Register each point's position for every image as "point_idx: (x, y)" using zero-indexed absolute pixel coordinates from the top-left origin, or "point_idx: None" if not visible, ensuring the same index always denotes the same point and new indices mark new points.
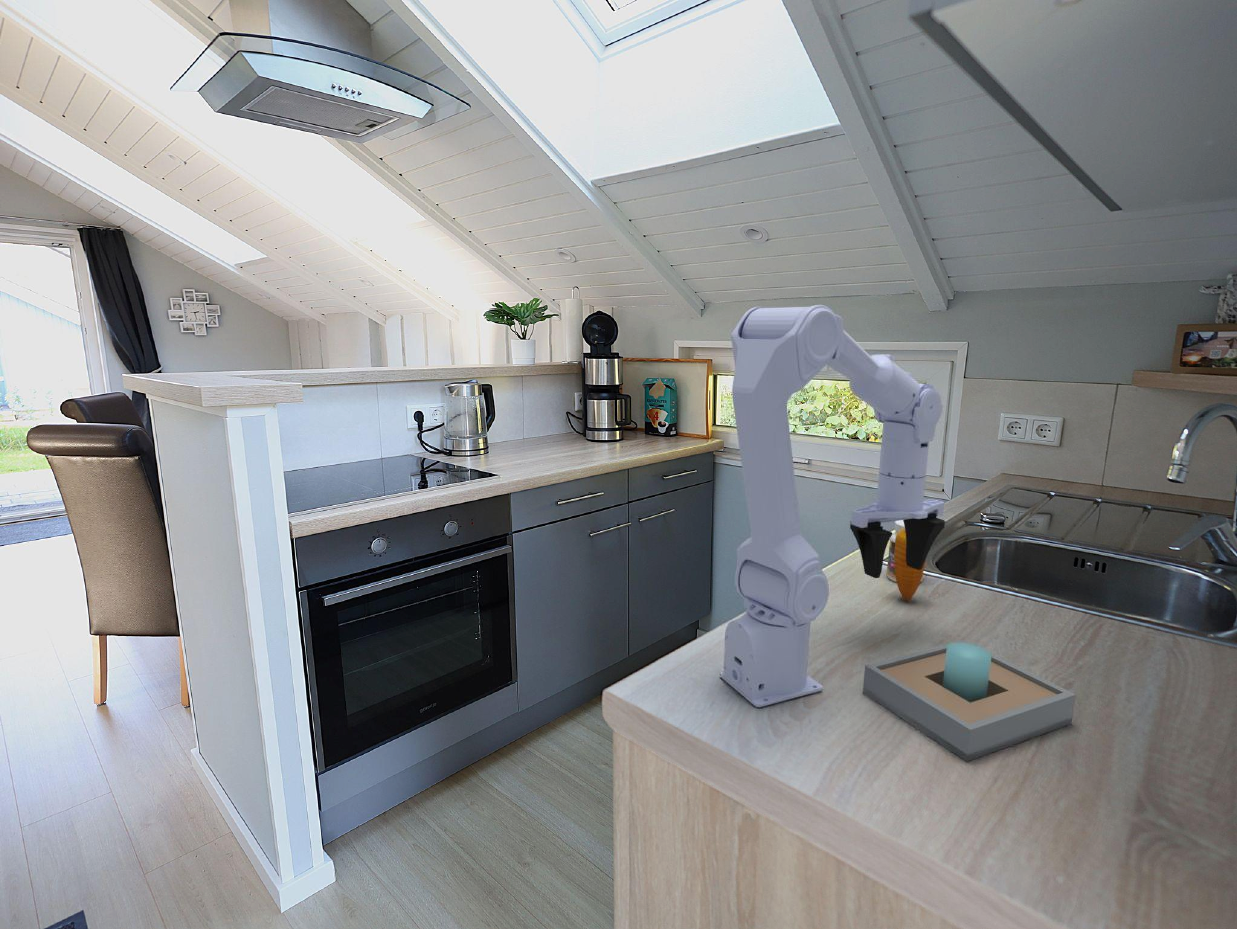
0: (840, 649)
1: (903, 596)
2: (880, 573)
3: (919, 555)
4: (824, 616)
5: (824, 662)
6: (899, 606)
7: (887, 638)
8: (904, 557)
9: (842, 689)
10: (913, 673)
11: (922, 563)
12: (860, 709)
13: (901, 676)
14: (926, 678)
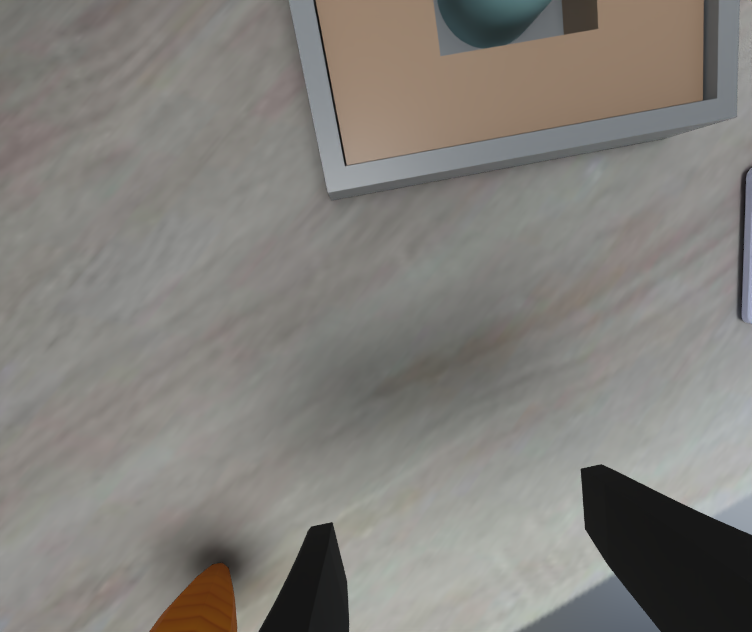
0: (570, 348)
1: (229, 575)
2: (598, 476)
3: (324, 597)
4: (494, 514)
5: (648, 297)
6: (263, 537)
7: (418, 377)
8: None
9: (694, 167)
10: (615, 54)
11: (314, 545)
12: None
13: (662, 46)
14: (602, 13)
